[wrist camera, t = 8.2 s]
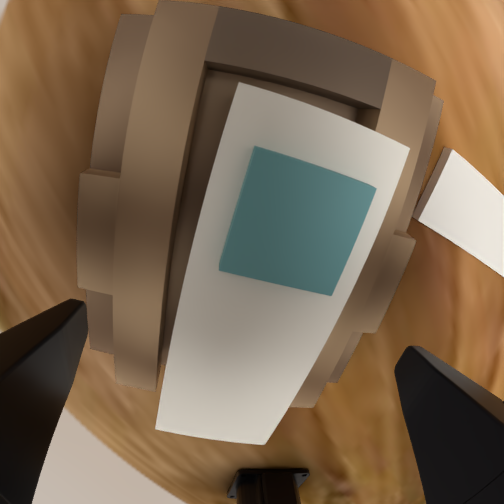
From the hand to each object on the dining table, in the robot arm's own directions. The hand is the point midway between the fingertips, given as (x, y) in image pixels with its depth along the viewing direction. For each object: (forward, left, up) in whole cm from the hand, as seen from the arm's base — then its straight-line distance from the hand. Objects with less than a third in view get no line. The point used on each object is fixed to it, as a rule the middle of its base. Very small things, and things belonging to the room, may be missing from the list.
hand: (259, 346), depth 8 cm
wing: (+4, -14, -8) cm, 16 cm away
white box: (0, 0, -6) cm, 6 cm away
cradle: (+1, 0, -7) cm, 7 cm away
